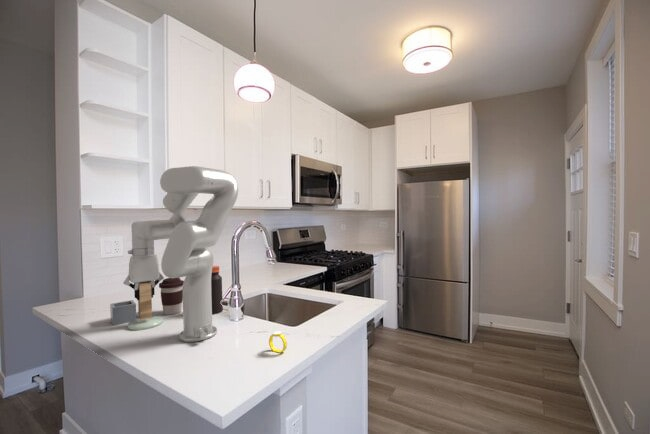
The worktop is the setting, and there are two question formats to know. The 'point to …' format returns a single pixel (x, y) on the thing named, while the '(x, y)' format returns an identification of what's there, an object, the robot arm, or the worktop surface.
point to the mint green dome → (145, 323)
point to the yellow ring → (279, 333)
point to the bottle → (216, 290)
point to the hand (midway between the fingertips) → (144, 297)
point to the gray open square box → (123, 312)
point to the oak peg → (145, 300)
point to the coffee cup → (171, 295)
